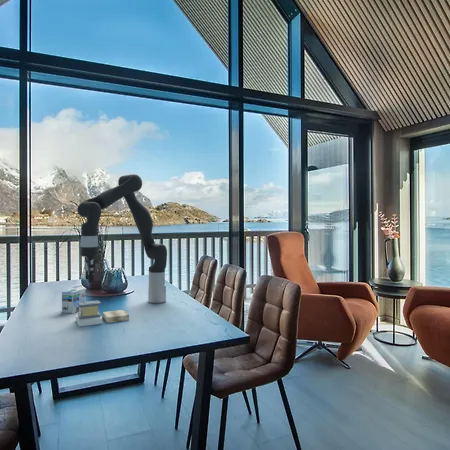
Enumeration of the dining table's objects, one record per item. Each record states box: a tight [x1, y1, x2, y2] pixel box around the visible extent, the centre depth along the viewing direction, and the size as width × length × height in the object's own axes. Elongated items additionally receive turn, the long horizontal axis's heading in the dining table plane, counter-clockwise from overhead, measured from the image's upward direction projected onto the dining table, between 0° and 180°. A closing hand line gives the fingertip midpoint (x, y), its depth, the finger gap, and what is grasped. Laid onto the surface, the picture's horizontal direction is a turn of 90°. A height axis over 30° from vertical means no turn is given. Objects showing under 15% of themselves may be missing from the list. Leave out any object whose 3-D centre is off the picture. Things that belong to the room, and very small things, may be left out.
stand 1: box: [75, 314, 103, 327], centre depth 163 cm, size 10×10×2 cm
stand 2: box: [102, 309, 130, 324], centre depth 169 cm, size 10×10×2 cm
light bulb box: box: [61, 287, 86, 314], centre depth 182 cm, size 11×7×11 cm, turn 168°
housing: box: [77, 300, 102, 319], centre depth 163 cm, size 9×6×6 cm, turn 120°
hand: (89, 280), depth 162 cm, fingers open, 8 cm apart
